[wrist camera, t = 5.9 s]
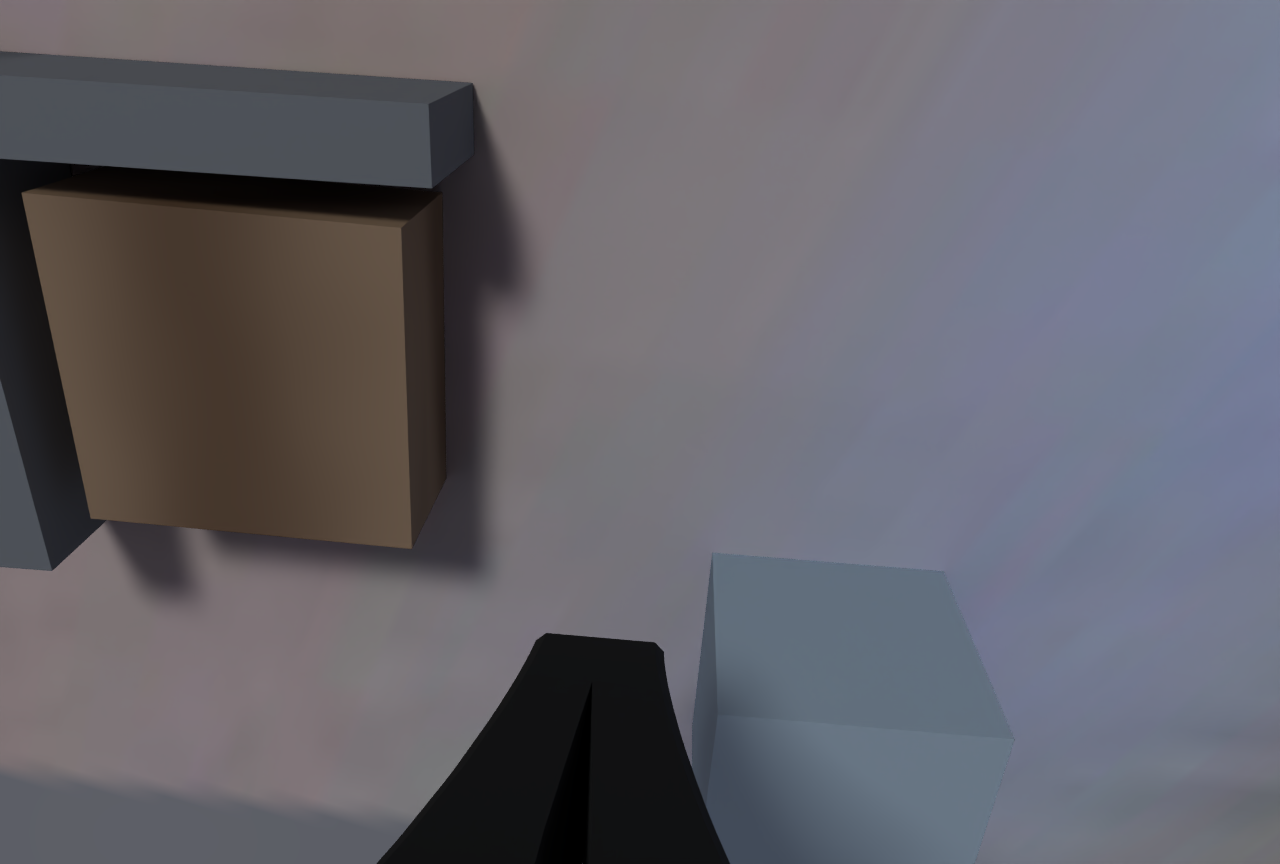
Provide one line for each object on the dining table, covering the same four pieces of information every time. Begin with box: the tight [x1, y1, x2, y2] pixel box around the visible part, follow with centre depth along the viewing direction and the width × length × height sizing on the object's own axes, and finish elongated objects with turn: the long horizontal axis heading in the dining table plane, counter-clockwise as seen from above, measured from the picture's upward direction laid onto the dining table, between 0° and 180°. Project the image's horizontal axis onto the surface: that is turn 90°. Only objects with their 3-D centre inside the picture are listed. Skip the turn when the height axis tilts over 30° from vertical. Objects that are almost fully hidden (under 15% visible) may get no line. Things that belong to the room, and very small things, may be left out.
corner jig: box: [0, 51, 474, 571], centre depth 17 cm, size 9×9×3 cm
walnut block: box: [22, 166, 446, 549], centre depth 17 cm, size 6×6×3 cm
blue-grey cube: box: [692, 553, 1015, 864], centre depth 19 cm, size 5×5×5 cm
